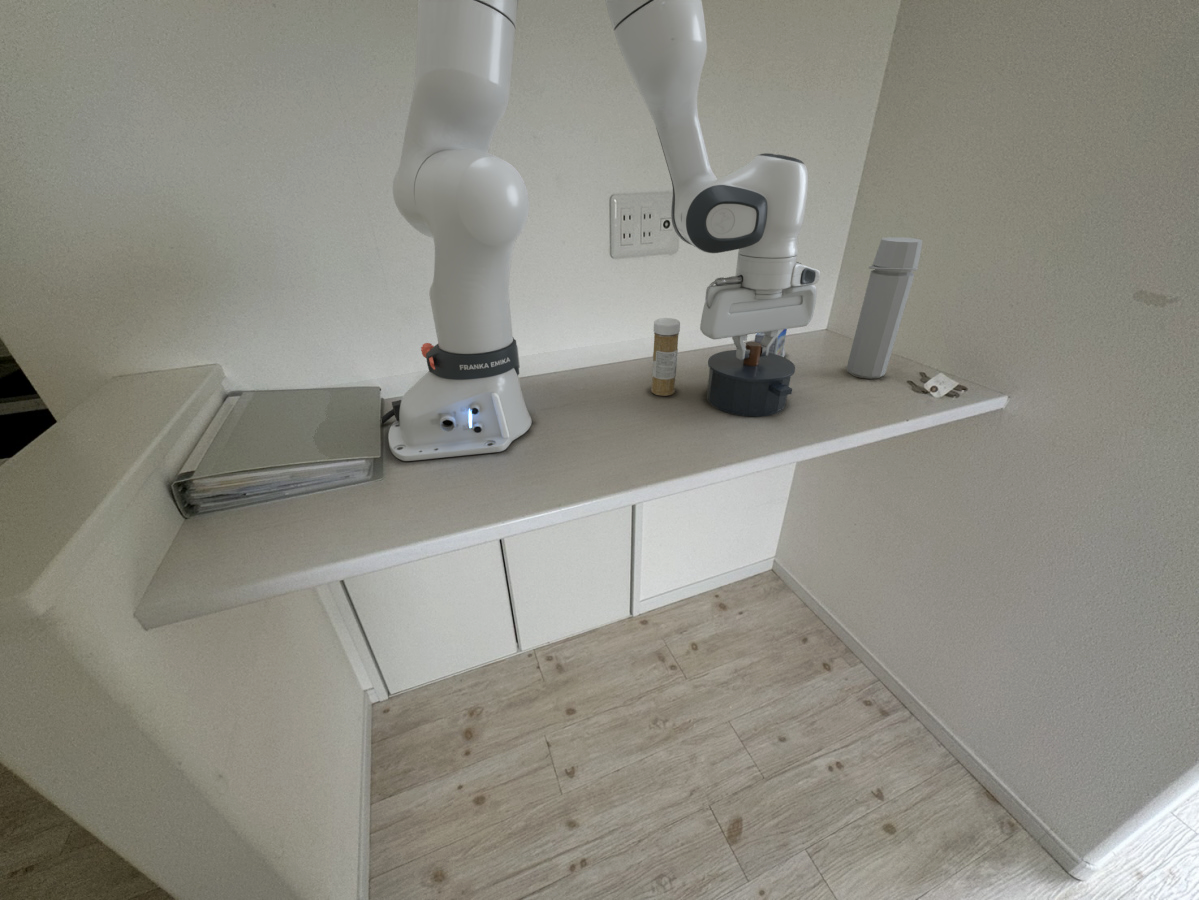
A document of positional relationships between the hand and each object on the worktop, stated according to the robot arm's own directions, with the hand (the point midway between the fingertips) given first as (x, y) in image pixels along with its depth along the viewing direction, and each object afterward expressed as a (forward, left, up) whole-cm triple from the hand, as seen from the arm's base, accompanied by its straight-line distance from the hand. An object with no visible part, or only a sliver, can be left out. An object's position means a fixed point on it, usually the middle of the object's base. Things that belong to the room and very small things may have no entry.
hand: (751, 356), depth 85 cm
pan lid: (0, 0, -2) cm, 2 cm away
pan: (0, 0, -8) cm, 8 cm away
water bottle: (+30, +2, -8) cm, 31 cm away
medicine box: (+12, +10, -8) cm, 18 cm away
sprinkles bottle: (-12, +9, -8) cm, 17 cm away
